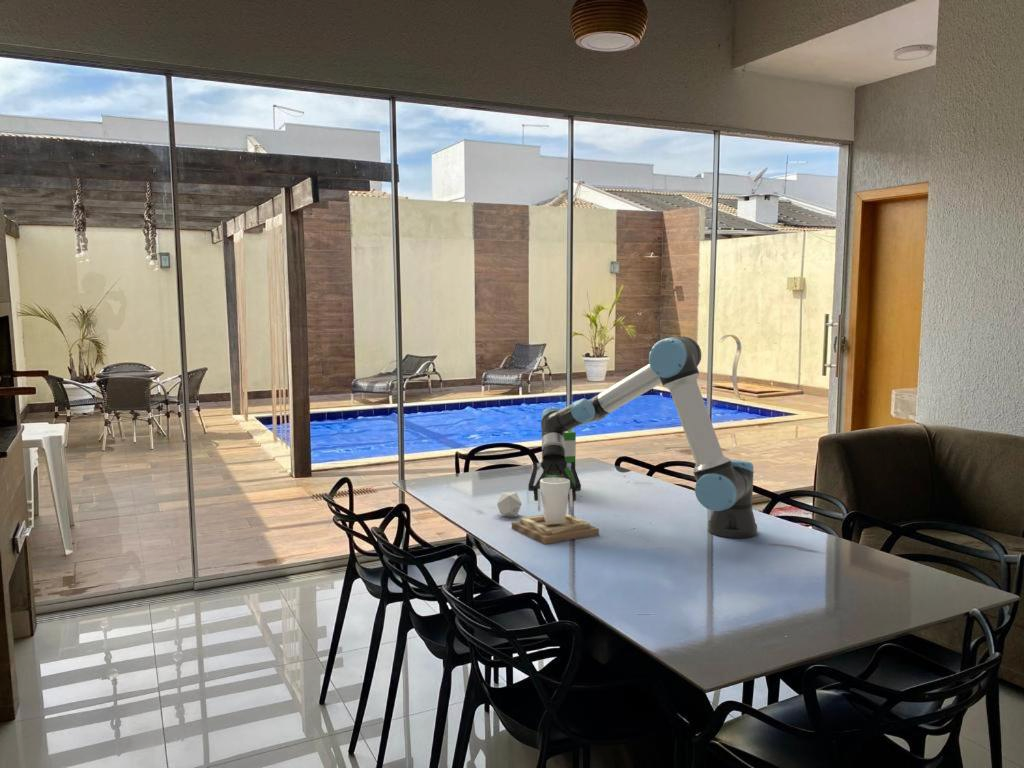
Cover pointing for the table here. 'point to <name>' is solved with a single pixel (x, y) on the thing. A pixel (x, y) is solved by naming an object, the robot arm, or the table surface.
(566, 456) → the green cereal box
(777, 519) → the table surface
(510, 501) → the die
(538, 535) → the base board
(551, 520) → the foam cup
